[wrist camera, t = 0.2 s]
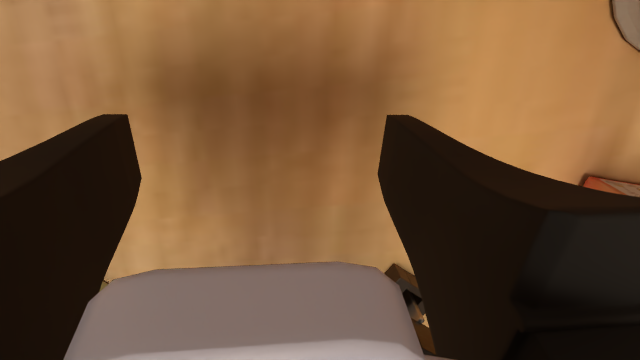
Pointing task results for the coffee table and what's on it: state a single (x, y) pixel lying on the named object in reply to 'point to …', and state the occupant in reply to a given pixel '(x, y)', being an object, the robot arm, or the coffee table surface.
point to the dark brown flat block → (419, 325)
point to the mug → (628, 20)
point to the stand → (406, 284)
